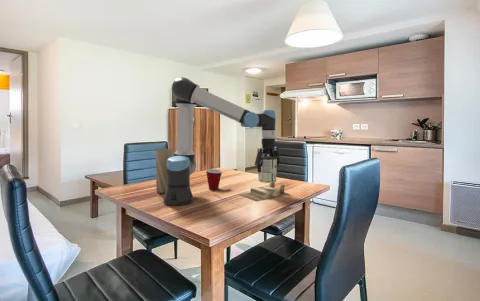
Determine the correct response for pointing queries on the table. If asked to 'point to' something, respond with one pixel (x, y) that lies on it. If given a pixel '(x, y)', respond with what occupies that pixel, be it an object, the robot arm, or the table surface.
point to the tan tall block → (162, 168)
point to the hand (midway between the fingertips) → (267, 177)
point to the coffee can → (269, 169)
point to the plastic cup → (213, 178)
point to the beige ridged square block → (265, 191)
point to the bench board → (257, 198)
